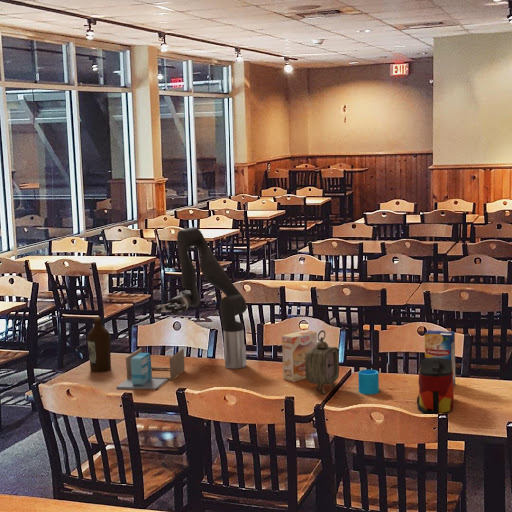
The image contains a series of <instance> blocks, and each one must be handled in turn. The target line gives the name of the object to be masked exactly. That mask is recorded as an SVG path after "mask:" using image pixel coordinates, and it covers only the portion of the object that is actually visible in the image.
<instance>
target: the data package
mask: <svg viewBox="0 0 512 512" xmlns="http://www.w3.org/2000/svg"><path fill="white" fill-rule="evenodd" d="M151 356H152V355H151V353H150V352H142V353H139V354H138V355H136V356H134V357H133V358H132V359H131V372H132V384H133V385H144V384H145V383H147V382H148V381H149V380H151V378H152V377H153V375H152V374H153V373H152V372H153V370H151V367H152V357H151Z"/></svg>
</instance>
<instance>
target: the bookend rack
mask: <svg viewBox="0 0 512 512" xmlns="http://www.w3.org/2000/svg"><path fill="white" fill-rule="evenodd" d="M184 350H185V349H183V348H182V349H180V350H179V351H178V352H176V353H175V354H174V355H172V356H171V357H170V358H169V367H168V366H167V367H163V366H162V367H161V366H159V367H157V366H151V369H170V370H169V371H170V374H169V377H167V376H166V377H163V376H152V378H151V379H167V381H170V380H172V379H173V380H175V379H176V378H177V377H178V376H180V375H181V374H182V373H183V372H185V371H186V370H185V352H184ZM142 351H143V350H142V347H141V348H139V349H137V350H136V351H133V352H132V353H131V354H129V355H127V356H125V365H126V380H127V379H128V378H132V372H131V359H132V358H133V357H134V356H136V355H138V354H139V353H143V352H142ZM184 370H185V371H184ZM182 371H183V372H182ZM181 372H182V373H181ZM180 373H181V374H180ZM179 374H180V375H179ZM177 375H178V376H177ZM176 376H177V377H176ZM175 377H176V378H175ZM174 378H175V379H174ZM173 380H172V381H173Z"/></svg>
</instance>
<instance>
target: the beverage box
mask: <svg viewBox="0 0 512 512" xmlns="http://www.w3.org/2000/svg"><path fill="white" fill-rule="evenodd" d="M427 358H444V359H448V360H451V361H452V367H453V387H454V386H455V385H456V332H455V331H450V330H433V329H432V330H431V329H428V330H427V331H425V333H424V359H427Z"/></svg>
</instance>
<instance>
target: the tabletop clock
mask: <svg viewBox="0 0 512 512" xmlns="http://www.w3.org/2000/svg"><path fill="white" fill-rule="evenodd" d="M321 333H323V334H324V335H323V337H322V336H320V335H321ZM325 338H326V331H325V330H323V329H322V330H320V331H319V332H318V334H317V345H316V347H315V348H313V349H311V350H309V351H308V352H307V353H306V355H305V372H306V378H305V379H306V381H307V382H309V383H310V384H316V385H317V386H315V388H316V390H318V391H319V390H320V389H321V391H320V392H321V394H322V395H324V394H325V393H326V391H325V389H324V385H326V386H329V385H331V387H332V388H335V387H336V386H337V385H336V383H335V382H336V381H337V380H338V378H339V373H340V357H339V356H340V355H339V350H338V347H336V346H329V344H328V343H327V342H326V341H324V340H325Z"/></svg>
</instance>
